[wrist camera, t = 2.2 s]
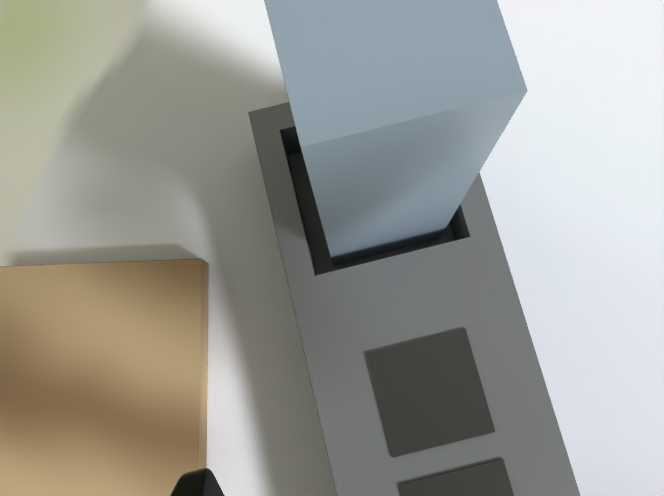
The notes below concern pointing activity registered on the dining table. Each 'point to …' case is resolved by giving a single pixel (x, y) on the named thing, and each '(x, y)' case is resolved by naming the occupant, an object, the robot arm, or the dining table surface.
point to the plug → (394, 110)
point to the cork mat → (102, 377)
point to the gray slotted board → (414, 349)
